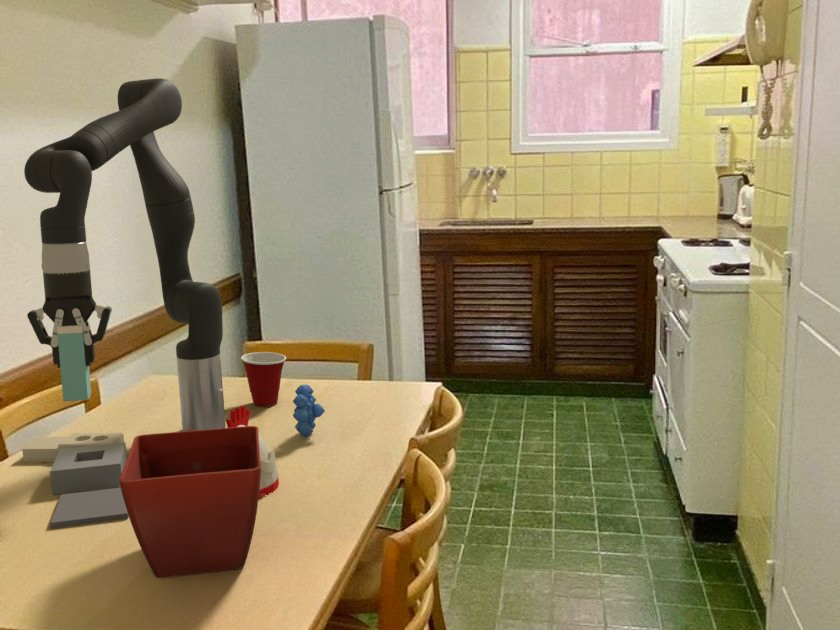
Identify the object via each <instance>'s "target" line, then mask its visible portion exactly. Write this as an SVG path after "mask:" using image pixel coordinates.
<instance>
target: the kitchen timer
mask: <svg viewBox="0 0 840 630" xmlns="http://www.w3.org/2000/svg"><path fill="white" fill-rule="evenodd" d="M229 413H230V414H229V418H225V424H226V428H232V427H245V426H249V421H250V414H251V410H250V409H246V406H245V405H240V407H235V408H234V410H233V409H232V410H231V409H230V412H229ZM259 448H260V459H261V479H260V490H259V499H261V498H260V497H262V498H264V497H263V496H265V495H267V496H269V495H270V494H269V493H271V492H272V493H274V492H275V491H276V490H277V489H278V488H279V485H280V482H279V470H278V466H277V461H276V460H277V459H276V454H275V451H274V450H273V449H272V450H271V449H270V448H269V446H268V445H267V443H266V441H265V440H264V438H263V437H262V436H261V435H260V434H259ZM273 491H274V492H273ZM272 493H271V494H272ZM268 494H269V495H268ZM265 497H266V496H265Z"/></svg>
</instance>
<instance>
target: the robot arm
mask: <svg viewBox="0 0 840 630" xmlns="http://www.w3.org/2000/svg"><path fill="white" fill-rule="evenodd" d="M117 107H118V111H114V112H112V113H110V114H109V113H108V114H107V115H104V116H102V117H99V118H97V119H95V120H93V121H90V122H89V123H88V124H86V125H85V126H83V127H82V128H80V129H79V130H77V131H76V132H75V133H73V134H72V135H71V136H69V137H66V138H63V139H61V140H58V141H55V142H53V143H50V144H47V145H45V146H42V147H41V148H39V149H37V150H35V151H33V153H31V155H29V157H28V158H27V160H26V162H25V165H24V169H23V172H24V173H23V174H24V178H25V180H26V182H27V184H28V185H29V186H30V187H31V188H32V189H33V190H35V191H37V192H40V193H46V194H59V196H58V200H57V203H56V205H55V206H51V207H48V208H45V209H43V210H42V211H41V213H40V216H39V222H40V223H39V225H40V226H39V227H40V235H41V270H42V278H43V287H44V289H43V290H44V303H43V305H42V307H40V308H37V309H32V310H30V311H29V312H28V313H27V314H26V316H27V319H28V321H29V323H30V325H31V327H32V330H33V332H34V333H35V336H36V338H37V340H38V342H39V343H40V344H41V345H47V346H49V347H51V353H52V363H53V364H54V366H56V365H57V369H61V368H60V357H59V345H58V334H57V327H61V326H68V325H78V326H83V327H82V331H83V337H84V342H85V346H84V348H85V360H86V366H89V367H91V365H92V364H93V363H94V361H95V359H96V354H95V353H96V352H95V343H98V342H101V341H102V340H103V339H104V338H105V336H106V332H107V329H108V325H109V321H110V318H111V315H112V311H113V309H112V307H111V306H109V305H107V306H104V305H98V304H97V303H96V302H95V300H94V298H93V288H92V276H91V264H90V254H89V249H88V244H87V231H86V222H85V221H86V220H85V217H86V213H87V207H88V202H89V201H88V200H89V196H90V192H91V186H92V180H93V173H92V172H93V171H96V170H98V169H100V168H101V167H102V166H103V165H106V164H107V162H109V161H111V159H113V158H114V157H115V156H117V155H118V154H120V153H121V152H122V151H124V150H125V149H126V148H128V147H130V150H131V152H132V155H133V157H134V162H135V166H136V168H137V169H136V170H137V172H138V173H137V174H138V178H139V181H140V186H141V190H142V194H143V200H144V206H145V209H146V214H147V219H148V222H149V225H150V229H151V234H152V237H153V242H154V243H153V244H154V246H155V247H154V248H155V251H156V252H155V253H156V257H157V262H158V267H159V268H158V269H159V274H160V275H159V276H160V284H161V292H162V293H161V294H162V299H163V304H164V308H165V311H166V314H167V315H168V316H169V318H170V319H172V321H174V322H177V323H181V324H185V325H187V326H188V331H187V332H188V335H187V337H186V339H183V340H181V341H178V342H177V344H176V346H175V353H176V355H175V356H176V366H177V377H178V391H179V403H180V404H179V405H180V415H181V427H182V428H181V429H182V431H195V430H207V429H219V428H227V424H226V413H225V399H224V388H223V377H222V376H223V375H222V360H221V346H222V345H221V344H222V341H223V337H224V336H223V334H224V333H223V331H224V330H223V329H224V328H223V302H222V298H221V297H222V296H221V293H220V292H219V290H218V288H217V287H216V286H215V285H213V284H212V283H208V282H203V281H202V282H201V281H200V282H199V281H194V280H193V277H192V274H191V270H190V266H189V258H188V257H189V256H188V255H189V254H188V253H189V247H190V244H191V240H192V237H193V234H194V231H195V230H194V229H195V223H196V217H195V210H194V206H193V202H192V201H193V200H192V198H191V192H190V190H189V187H188V185H187V183H186V181H185V180H184V178H182V176H181V175H180V174H179V173H178V171H177V170H176V169H175V167H173V165H172V164H171V163H170V162H169V161H168V159H167V158H166V156H164V153H162V150H161V149H160V146H159V144H158V141H157V139H156V135H155V131H157V130H160V129H163V128H164V127H168V126H169V125H171V124H174V123H175V122H176V121H177V120H178V119H179V118H180V116H181V113H182V109H183V101H182V96H181V94H180V91H179V89H178V86H177V85H175V83H173V82H172V81H171V80H168V79H167V78H166V79H165V78H160V77H158V78H148V79H147V78H146V79H139V80H130V81H125V82H123V83H122V84H120V86H119V88H118V92H117ZM94 312H96V316H97V318H98V319H100V320H99V322H98V323H99V324H98V327H97V331H96V333H94V334H93V333H92V330H91V326H90V322H89V319H90V317H92V314H93V313H94ZM44 314H45V315H46V316H47V317H48V318H49V319H50V320H51V321H52V322H53V328H52V334H51V336H50V335H49V334H48V331H47V329H46V327H45V325H44V323H43V320H44V317H45V316H44Z"/></svg>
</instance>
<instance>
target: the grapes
mask: <svg viewBox="0 0 840 630" xmlns="http://www.w3.org/2000/svg"><path fill="white" fill-rule="evenodd" d="M314 391H315V390H314V389H313V388H312V387H311V386H310V385H309V384H301V385H299V386H298V387H297V388H296V390H295V391H294V392H295V394H296V396H295V397H294V399H293V400H292V403H293V404H294V405H295V406H296V407H295V408H294V410H293V414H292V417H293V418H294V419H295V420H296V422H297V423H296V424H295V426H294V428H295V430H296V431H297V432H298V433H299V434H300V436H302V438H309V437H310V436H311V435H312V433H314V428H315V427H316V426H317V425H316V423H315V421H316V418H320V417H321V416H322V415H323V414H324V413H325V411H326V410H325V409H324V407H323V406H322V405H321V404H319V403H316V401H317V399H316V397H315V396H314V395H313V393H314Z"/></svg>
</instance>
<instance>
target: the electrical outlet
mask: <svg viewBox="0 0 840 630" xmlns="http://www.w3.org/2000/svg"><path fill="white" fill-rule="evenodd" d="M122 442H125V436H124V433H122V432H74V433H72V434H71V435H69V436H39V437H37V438H36V439H34V440H33V441H31V443H29V444H27V445H26V446H24V447H22V449H21V450H22V457H23V463H54V462H55V460H56V457H57V455H58V453H59V451H60V449H65V448H74V447H84V446H93V445H103V444H113V443H122Z"/></svg>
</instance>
